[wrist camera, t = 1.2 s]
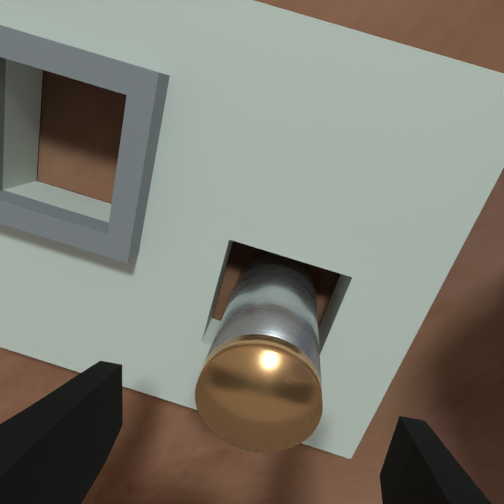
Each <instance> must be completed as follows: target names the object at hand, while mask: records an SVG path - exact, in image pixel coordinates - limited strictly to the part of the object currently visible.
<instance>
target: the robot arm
mask: <svg viewBox="0 0 504 504" xmlns="http://www.w3.org/2000/svg"><path fill="white" fill-rule="evenodd" d="M121 426H122V365H121V364H116V363H110V362H105V361H99V362H97V363H96V364H94V365H92V366H91V367H89V368H88V369H86V370H85V371H83V372H82V373H80V374H79V375H77V376H76V377H74V378H73V379H71V380H70V381H68V382H67V383H65V384H64V385H62V386H61V387H59V388H58V389H56V390H55V391H53V392H52V393H50V394H48V395H47V396H45V397H44V398H42V399H41V400H39V401H37V402H36V403H34V404H33V405H31V406H30V407H28V408H27V409H25V410H23V411H22V412H20V413H18V414H17V415H15V416H13V417H12V418H10V419H8V420H7V421H5V422H3V423H1V424H0V504H81V503H82V501H83V499H84V498H85V496H86V494H87V493H88V491H89V489H90V488H91V486H92V484H93V483H94V481H95V479H96V477H97V476H98V474H99V472H100V471H101V469H102V467H103V465H104V464H105V462H106V460H107V457H108V455H109V453H110V451H111V449H112V447H113V445H114V442H115V440H116V438H117V436H118V433H119V431H120V429H121ZM380 482H381V491H382V501H383V504H491V503H490V501H489V500H488V499H487V498H486V497H485V495H484V494H483V493H482V492H481V491H480V489H479V488H478V487H477V486H476V484H475V483H474V482H473V481H472V479H471V478H470V477H469V476H468V475H467V473H466V472H465V471H464V470H463V468H462V467H461V466H460V464H459V463H458V462H457V461H456V459H455V458H454V457H453V456H452V454H451V453H450V452H449V451H448V449H447V448H446V447H445V445H444V444H443V443H442V442H441V440H440V439H439V438H438V437H437V435H436V434H435V433H434V432H433V430H432V429H431V428H430V427H429V425H428V424H427V423H426V422H425V421H423V420H418V419H413V418H407V417H402V416H400V417H399V420H398V423H397V426H396V429H395V432H394V434H393V437H392V440H391V443H390V446H389V449H388V452H387V455H386V458H385V461H384V464H383V467H382V470H381V473H380Z"/></svg>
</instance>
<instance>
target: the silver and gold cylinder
mask: <svg viewBox="0 0 504 504" xmlns="http://www.w3.org/2000/svg"><path fill="white" fill-rule="evenodd" d="M195 403H196V407H197V410H198V413H199V415H200V417H201V419H202V420H203V422H204V423H205V425H206V426H207V427H208V428H209V429H210V430H211V431H212V432H213V433H214V434H215V435H216V436H218V437H219V438H220V439H222V440H223V441H225V442H227V443H229V444H231V445H233V446H235V447H238V448H240V449H244V450H247V451H253V452H262V453H270V452H279V451H283V450H287V449H290V448H293V447H295V446H297V445H299V444H301V443H302V442H304V441H305V440H306V439H307V438H309V437H310V436H311V435H312V433H313V432H314V431H315V430H316V428H317V426H318V424H319V422H320V419H321V416H322V411H323V401H322V385H321V369H320V353H319V337H318V320H317V304H316V288H315V282H314V278H313V276H312V274H311V272H310V271H309V269H308V268H307V267H306V266H305V265H304V264H303V263H302V262H301V261H297V260H294V259H291V258H288V257H284V256H281V255H278V254H275V253H267V254H263V255H260V256H257V257H256V258H254V259H252V260H251V261H249V262H248V263H247V264H246V265H245V266H244V268H243V269H242V271H241V273H240V275H239V277H238V280H237V282H236V285H235V287H234V290H233V292H232V295H231V297H230V300H229V302H228V305H227V307H226V310H225V313H224V315H223V318H222V320H221V323H220V325H219V328H218V330H217V333H216V335H215V338H214V340H213V343H212V345H211V348H210V350H209V353H208V355H207V358H206V361H205V363H204V366H203V368H202V371H201V373H200V376H199V378H198V381H197V384H196V388H195Z"/></svg>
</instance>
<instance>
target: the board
mask: <svg viewBox="0 0 504 504" xmlns="http://www.w3.org/2000/svg"><path fill="white" fill-rule="evenodd" d="M43 70H45V71H49V72H52V73H55V74H58V75H62V76H65V77H68V78H72V79H75V80H78V81H82V82H85V83H88V84H92V85H95V86H98V87H102V88H105V89H108V90H112V91H115V92H118V93H122V94H125V95H127V96H126V103H125V111H124V118H123V125H122V132H121V140H120V147H119V154H118V161H117V168H116V176H115V183H114V190H113V197H112V204H110V203H106V202H103V201H100V200H97V199H93V198H90V197H87V196H84V195H80V194H77V193H74V192H71V191H67V190H64V189H61V188H58V187H54V186H51V185H48V184H45V183H41V182H38V181H36V180H37V163H38V146H39V130H40V113H41V96H42V79H43ZM503 168H504V74H503V73H500V72H496V71H493V70H489V69H486V68H483V67H479V66H476V65H472V64H469V63H465V62H462V61H459V60H455V59H452V58H448V57H445V56H442V55H438V54H435V53H431V52H428V51H425V50H421V49H418V48H414V47H411V46H407V45H404V44H401V43H397V42H394V41H390V40H387V39H384V38H380V37H377V36H373V35H370V34H366V33H363V32H360V31H356V30H353V29H349V28H346V27H343V26H339V25H336V24H332V23H329V22H325V21H322V20H319V19H315V18H312V17H308V16H305V15H302V14H298V13H295V12H291V11H288V10H285V9H281V8H278V7H274V6H271V5H267V4H264V3H261V2H257V1H254V0H0V347H1V348H5V349H8V350H11V351H14V352H17V353H20V354H23V355H27V356H30V357H33V358H36V359H39V360H42V361H45V362H48V363H52V364H55V365H58V366H61V367H64V368H67V369H70V370H73V371H77V372H80V373H82V372H83V371H85V370H86V369H88V368H89V367H91V366H92V365H94V364H96V363H97V362H99V361H105V362H110V363H116V364H121V365H122V386H124V387H127V388H130V389H133V390H136V391H139V392H142V393H145V394H149V395H152V396H155V397H158V398H161V399H164V400H167V401H171V402H174V403H177V404H180V405H183V406H186V407H189V408H192V409H196V410H197V407H196V403H195V388H196V384H197V381H198V378H199V376H200V373H201V371H202V368H203V366H204V363H205V361H206V358H207V355H208V353H209V350H210V348H211V345H212V343H213V340H214V338H215V335H216V333H217V330H218V328H219V325H220V323H221V321H219V320H216V319H213V318H212V317H213V313H214V310H215V306H216V302H217V299H218V295H219V291H220V288H221V284H222V280H223V277H224V273H225V270H226V266H227V262H228V259H229V255H230V251H231V248H232V244H233V241H236V242H239V243H242V244H245V245H249V246H252V247H255V248H258V249H262V250H265V251H268V252H271V253H275V254H278V255H281V256H284V257H288V258H291V259H294V260H297V261H301V262H304V263H307V264H310V265H314V266H317V267H320V268H323V269H327V270H330V271H333V272H336V273H340V276H339V279H338V281H337V284H336V286H335V288H334V291H333V293H332V296H331V298H330V301H329V303H328V306H327V308H326V311H325V313H324V316H323V318H322V321H321V323H320V326H319V328H318V337H319V353H320V369H321V385H322V401H323V411H322V416H321V419H320V422H319V424H318V426H317V428H316V430H315V431H314V432H313V433H312V435H311V436H310V437H309V438H307V439H306V440H305V441H304V442H302V444H305V445H308V446H311V447H314V448H318V449H321V450H324V451H327V452H330V453H333V454H336V455H340V456H343V457H346V458H349V459H351V458H352V456H353V454H354V452H355V450H356V448H357V446H358V444H359V442H360V441H361V439H362V437H363V435H364V433H365V431H366V429H367V427H368V425H369V423H370V421H371V420H372V418H373V416H374V414H375V412H376V410H377V408H378V406H379V404H380V402H381V400H382V399H383V397H384V395H385V393H386V391H387V389H388V387H389V385H390V383H391V381H392V379H393V378H394V376H395V374H396V372H397V370H398V368H399V366H400V364H401V362H402V360H403V358H404V357H405V355H406V353H407V351H408V349H409V347H410V345H411V343H412V341H413V339H414V338H415V336H416V334H417V332H418V330H419V328H420V326H421V324H422V322H423V320H424V318H425V317H426V315H427V313H428V311H429V309H430V307H431V305H432V303H433V301H434V299H435V297H436V296H437V294H438V292H439V290H440V288H441V286H442V284H443V282H444V280H445V278H446V276H447V275H448V273H449V271H450V269H451V267H452V265H453V263H454V261H455V259H456V257H457V256H458V254H459V252H460V250H461V248H462V246H463V244H464V242H465V240H466V238H467V236H468V235H469V233H470V231H471V229H472V227H473V225H474V223H475V221H476V219H477V217H478V215H479V214H480V212H481V210H482V208H483V206H484V204H485V202H486V200H487V198H488V196H489V194H490V193H491V191H492V189H493V187H494V185H495V183H496V181H497V179H498V177H499V175H500V173H501V172H502V170H503Z"/></svg>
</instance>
